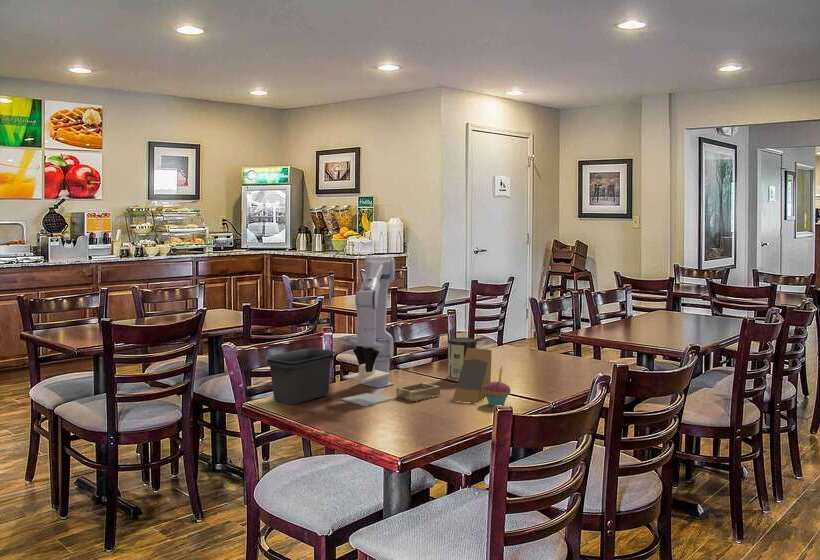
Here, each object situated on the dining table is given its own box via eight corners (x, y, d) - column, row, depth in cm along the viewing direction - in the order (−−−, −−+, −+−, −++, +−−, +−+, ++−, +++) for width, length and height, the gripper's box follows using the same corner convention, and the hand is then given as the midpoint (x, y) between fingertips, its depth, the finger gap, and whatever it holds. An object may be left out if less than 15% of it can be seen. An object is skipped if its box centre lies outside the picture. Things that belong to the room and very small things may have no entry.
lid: (343, 380, 233) (342, 365, 232) (372, 373, 242) (372, 358, 241) (361, 384, 227) (360, 369, 226) (390, 377, 236) (390, 362, 235)
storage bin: (290, 408, 224) (290, 361, 222) (256, 400, 233) (256, 355, 232) (339, 395, 240) (339, 352, 239) (306, 388, 250) (306, 346, 249)
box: (396, 397, 238) (396, 388, 238) (422, 391, 247) (422, 382, 247) (414, 401, 233) (414, 392, 233) (440, 395, 241) (440, 386, 241)
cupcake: (494, 399, 236) (495, 362, 235) (516, 405, 230) (517, 366, 229) (477, 404, 230) (477, 366, 229) (498, 409, 224) (499, 370, 223)
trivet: (341, 400, 234) (341, 398, 234) (367, 394, 242) (367, 392, 242) (364, 406, 227) (364, 404, 227) (390, 400, 235) (390, 398, 235)
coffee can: (474, 375, 273) (475, 337, 272) (477, 381, 262) (477, 342, 261) (446, 375, 273) (447, 337, 272) (447, 381, 263) (448, 341, 261)
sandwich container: (450, 402, 234) (451, 355, 232) (466, 391, 248) (466, 347, 247) (476, 405, 230) (477, 357, 229) (490, 394, 245) (491, 349, 243)
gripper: (341, 326, 235) (341, 369, 236) (372, 332, 225) (372, 376, 226) (358, 324, 240) (358, 366, 241) (389, 329, 230) (389, 373, 231)
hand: (366, 371), depth 234 cm, fingers closed on lid, 2 cm apart
